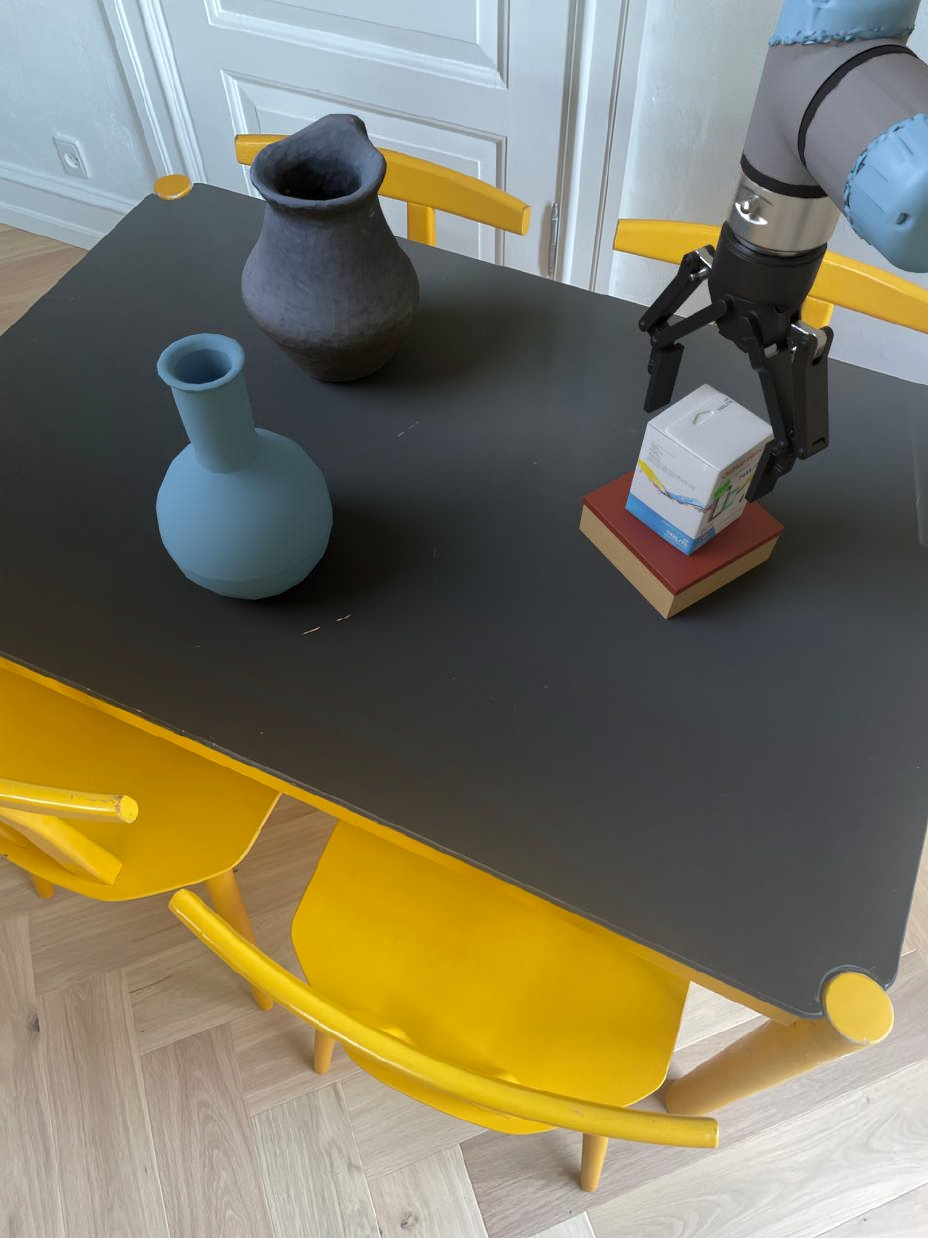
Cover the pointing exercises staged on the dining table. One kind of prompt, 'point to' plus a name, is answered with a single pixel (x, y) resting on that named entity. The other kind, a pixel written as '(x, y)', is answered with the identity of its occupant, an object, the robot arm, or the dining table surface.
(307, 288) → the pitcher
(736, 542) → the book
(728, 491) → the ink box
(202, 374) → the vase
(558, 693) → the dining table surface
